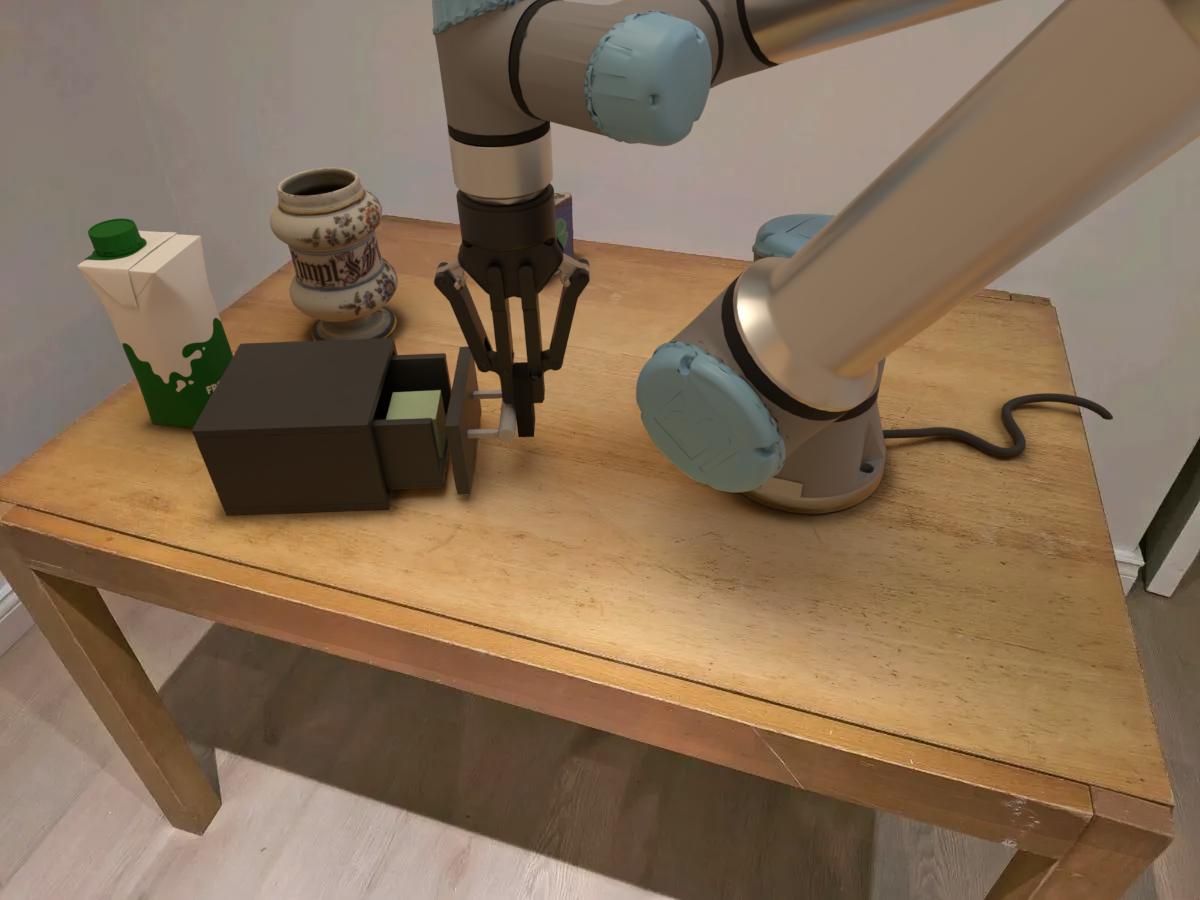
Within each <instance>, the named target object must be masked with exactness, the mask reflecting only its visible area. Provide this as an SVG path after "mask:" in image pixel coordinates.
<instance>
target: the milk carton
mask: <svg viewBox="0 0 1200 900" xmlns="http://www.w3.org/2000/svg"><path fill="white" fill-rule="evenodd" d="M87 235H88V238H89V239H90V242H91V245H92V247H93V251H92V252H91V254H90V255H88V256H86V258H84V261H82V262H80V263H79V264H77V269H78V270H79V272H80V273H81V275H82V276H83V277H84V279H85V281H86V282H87V283H88V285H89V286H90V288H91V289H92V290H93V292H94V293H95V295H96V296H97V298H98V299H99V301H101V302H100V303H101V304H102V305H103V307H104V309H105V310H106V312H107V315H108V317H109V320H110V321H111V324H112V326H113V328H114V331H115V333H116V335H117V337H118V339H119V342H120V345H121V346H122V349H123V351H124V353H125V356H126V358H127V361H128V362H129V365H130V367H131V370H132V372H133V374H134V376H135V379H136V381H137V383H138V386H139V389H140V391H141V395H142V398H143V402H144V403H145V406H146V409H147V412H148V415H149V418H150V421H151V424H153V425H162V426H171V427H179V428H187V429H193V428H194V426H195V424H196V422H197V421H198V419H199V417H200V415H201V413H202V412H203V410H204V408H205V406H206V404H207V403H208V401H209V399H210V397H211V395H212V394H213V392H214V390H215V388H216V387H217V385H218V383H219V381H220V379H221V378H222V376H223V374H224V372H225V370H226V369H227V367H228V365H229V363H230V361H231V360H232V358H233V356H234V354H233V351H232V349H231V345H230V343H229V339H228V338H227V337H228V336H227V334H226V330H225V328H224V326H223V323H222V322H223V321H222V320H221V316H220V314H219V311H218V307H217V305H216V302H215V299H214V296H213V294H212V291H211V288H210V287H211V286H210V285H209V281H208V276H207V275H208V274H207V270H206V269H207V268H206V262H205V255H204V249H203V243H202V236H201V235H196V234H195V235H194V234H181V233H180V234H178V233H177V232H174V231H151V230H150V231H149V230H139V229H138V227H137V224H136V222H135V221H134V220H133V219H130V218H111V219H108V220H104V221H100V222H98V223H95V224H93V225H92V226H91V227H89V229H88V230H87Z"/></svg>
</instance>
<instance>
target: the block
mask: <svg viewBox="0 0 1200 900" xmlns="http://www.w3.org/2000/svg"><path fill="white" fill-rule="evenodd" d="M416 418H432V422H433V427H434V432H435V438H436V443H437V448H438V454H439V458H442V457H443V454H444V448H445V441H446V430H445V423H446V416H445V410H444V405H443V399H442V393H441V390H434V391H412V392H393V394H392V398H391V402H390V405H389V409H388V413H387V417H386V420H389V419H416Z"/></svg>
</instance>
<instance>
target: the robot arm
mask: <svg viewBox="0 0 1200 900" xmlns="http://www.w3.org/2000/svg"><path fill="white" fill-rule="evenodd" d="M999 2H1003V0H620V1H616V2H614V3H611V4H595V3H594V4H593V3H585V2H576V1H568V0H431V5H432V6H431V7H432V9H431V10H432V21H433V22H432V23H433V24H432V26H433V27H432V29H431V30H432V36H434V39H435V44H436V52H437V58H438V59H437V60H438V64H439V65H438V66H439V72H440V73H439V74H440V78H441V79H440V80H441V86H442V87H441V88H442V94H443V101H444V109H445V117H446V122H447V123H446V124H447V136H448V143H449V153H450V160H451V167H452V175H453V183H454V185H455V187H456V188H457V189H458V190H457V191H456V195H455V196H456V197H455V198H456V204H457V212H458V220H459V228H460V236H461V244H460V245H459V248H458V253H457V257H456V258H454V259H453V260H451V261H449V262H446V261H442V262H440V263H439V264H438V265H437V269H436V272H435V275H434V279H433V285H434V287H435V288H436V289H437V290H438V291H439V292H440V294H442V296H443V297H445V299H446V300H447V301H448V302H449V304H450V306H451V309H452V311H453V314H454V316H455V318H456V320H457V323H458V325H459V329H460V330H461V332H462V335H463V337H464V339H465V342H466V344H467V347H469V349H470V351H471V354H472V356H473V358H474V361H475V366H476V367H477V370H478V371H479V372H481V373H489V372H493V373H495V374H497V375H498V377H499V381H500V390H501V391H502V398H501V401H502V400H503V402H504V403H505V404H515V410H516V419H517V420H516V431H517V438H535V430H536V410H535V408H536V407H535V404H543V403H544V401H545V397H546V396H545V394H546V385H545V373H546V372H548V371H550V370H551V371H559V370H561V369H562V367H563V363H564V359H565V356H566V355H565V354H566V350H567V346H568V342H569V338H570V333H571V329H572V325H573V321H574V317H575V312H576V308H577V305H578V304H577V303H578V299H579V297H580V296H581V295H582V293H583V292H584V290H585V289H586V288H587V286H588V284H589V283H590V281H591V280H590V279H591V277H590V273H591V270H590V262H589V260H587V259H586V258H579V259H575V258H574V259H573V258H571V257H570V256H568V255H566V254H564V249H563V245H562V244H561V242H560V241H559V239H558V237H557V233H556V216H555V199H554V193H555V189H554V186H553V185H552V183H551V182H552V181H553V179H554V165H553V146H552V126H551V123H553V124H557V125H561V126H564V127H568V128H573V129H576V130H580V131H583V132H588V133H592V134H595V135H599V136H604V137H607V138H608V139H611V140H614V141H616V142H619V143H622V142H623V143H625V144H630V145H635V144H636V145H637V144H641V145H650V146H655V147H656V146H657V147H669V146H673V145H675V144H678V143H679V142H681V141H683V140H685V138H687V137H688V136H689V135H690V133H691V132H692V129H693V126H694V123H695V122H697V121H699V120H700V119H701V117H702V115H703V112H704V111H705V108H706V105H707V101H708V98H709V94H710V90H711V89H713V88H715V87H717V86H720V85H722V84H724V83H726V82H729V81H732V80H734V79H738V78H742V77H745V76H748V75H752V74H755V73H759V72H762V71H766V70H770V69H772V68H775V67H778V66H779V65H780V66H781V65H782V64H784V63H785V64H786V63H789V62H792V61H796V60H798V59H799V60H800V59H803V58H807V57H809V56H810V57H811V56H813V55H817V54H820V53H824V52H827V51H832V50H835V49H838V48H841V47H845V46H849V45H852V44H855V43H858V42H862V41H866V40H869V39H873V38H876V37H880V36H884V35H887V34H891V33H895V32H897V31H901V30H904V29H908V28H911V27H915V26H919V25H921V24H925V23H929V22H932V21H935V20H939V19H942V18H946V17H949V16H954V15H957V14H960V13H964V12H967V11H971V10H975V9H977V8H981V7H985V6H988V5H992V4H996V3H999ZM1198 138H1200V0H1063V1H1062V2H1061V3H1060V4H1059V5H1058V6H1057V7H1056V8H1055V9H1054V10H1053V11H1052V12H1051V13H1050V14H1048V16H1046V18H1044V19H1043V20H1042V21H1041V22H1040V23H1039V24H1038V25H1037V26H1036V27H1034V28H1033V30H1032V31H1031V32H1030V33H1028V34H1027V35H1025V37H1024V38H1023V39H1022V40H1021V41H1020V42H1019V43H1018V44H1016V46H1014V47H1013V48H1012V49H1011V50H1010V51H1009V52H1008V53H1007V54H1006V55H1005V56H1004V57H1003V58H1002V59H1000V60H999V61H998V63H996V64H995V65H994V67H992V68H991V69H990V70H989V71H988V72H987V73H985V75H984V76H983V77H981V79H979V80H978V81H977V82H976V83H975V84H974V85H973V86H972V87H971V88H970V89H968V91H967V92H965V93H964V95H962V96H961V97H960V98H959V99H958V100H957V101H956V102H955V103H954V104H953V105H952V106H950V108H948V109H947V110H946V112H945V113H943V114H942V115H941V116H939V118H938V119H937V120H936V121H935V122H934V123H933V124H932V125H931V126H929V127H928V128H927V129H926V130H925V131H924V132H923V133H922V134H921V135H920V136H919V137H918V138H917V139H916V140H915V141H914V142H913V143H911V144H910V145H909V146H908V147H907V148H906V149H905V150H904V151H903V152H902V153H901V154H900V155H898V157H897V158H895V159H894V160H893V161H892V162H891V163H890V164H889V165H888V166H887V167H886V168H885V169H884V170H882V171H881V173H880V174H878V175H877V177H875V178H874V179H873V180H872V181H871V182H870V183H869V184H868V185H867V186H865V188H863V190H861V191H860V192H859V193H858V194H857V195H856V196H855V197H854V198H853V199H852V200H851V201H849V203H847V205H845V206H844V207H843V208H842V209H841V210H840V211H839V212H838V213H837V214H836V215H832V214H825V213H796V214H795V213H794V214H786V215H781V216H777V217H774V218H772V219H770V220H768V221H766V222H764V223H763V224H762V225H761V226H760V227H759V228H758V230H757V232H756V236H755V241H754V244H753V245H752V247H751V252H752V253H753V261H752V263H751V264H749V265H748V266H747V267H746V268H745V269H743V271H742V272H740V274H739V275H738V276H737V277H736V278H734V280H732V282H730V283H729V285H727V287H726V288H724V289H723V290H722V291H721V292H720V293H719V294H718V295H717V296H716V297H715V298H714V299H713V300H712V301H711V302H709V304H708V305H707V306H706V307H704V309H703V310H701V312H700V313H699V314H698V315H697V316H696V317H695V318H694V319H693V320H691V322H689V323H688V324H687V326H685V327H684V328H683V329H682V330H681V331H680V332H678V333H677V334H676V335H675V336H674V337H673V338H672V339H670V340H669V341H668V342H664V343H662V344H660V345H659V346H658V347H657V348H656V349H654V351H653V354H652V356H651V357H650V358H649V359H648V360H647V362H646V363H645V364H644V365H643V366H642V368H641V370H640V372H639V374H638V377H637V381H636V387H635V399H636V405H637V407H638V409H639V411H640V420H641V422H642V425H643V427H644V430H645V431H646V432H647V434H648V436H649V438H650V439H651V441H652V442H653V444H654V446H655V447H656V448H657V449H658V451H659V452H660V453H661V454H662V456H664V457H665V459H667V461H668V462H669V463H671V464H672V465H673V466H674V467H675V468H676V469H677V470H678V471H680V472H681V473H682V474H684V475H686V476H687V477H689V478H690V479H692V480H693V481H695V482H697V483H699V484H703V485H707V486H708V487H710V488H712V489H714V490H717V491H720V492H725V493H741V494H742V495H743V496H745V497H747V498H748V499H749V500H751V501H754V502H756V503H758V504H761V505H763V506H765V507H769V508H772V509H775V510H779V511H783V512H788V513H794V514H795V513H796V514H806V515H807V514H809V515H810V514H815V515H816V514H828V513H833V512H834V513H835V512H838V511H842V510H846V509H849V508H852V507H854V506H856V505H858V504H860V503H862V502H863V501H865V500H866V499H867V498H869V497H870V496H871V495H872V494H873V493H874V492H875V491H876V490H877V488H878V487H879V486H880V484H881V481H882V478H883V475H884V470H885V466H886V461H887V456H888V455H887V448H886V443H885V440H887V439H889V440H891V439H917V438H919V439H921V438H929V437H948V438H954V439H959V440H961V441H964V442H967V443H968V444H971V445H973V446H975V447H977V448H978V449H981V450H982V451H984V452H986V453H989V454H991V455H994V456H997V457H1002V458H1011V457H1015V456H1018V455H1020V454H1022V453H1023V452H1024V451H1025V449H1026V446H1027V440H1026V438H1025V437H1026V436H1025V435H1024V434H1023V432H1022V429H1021V428H1020V426H1019V425H1018V424H1017V422H1016V421H1015V419H1014V417H1013V414H1012V409H1014V408H1016V407H1019V406H1023V405H1027V404H1035V403H1061V404H1068V405H1073V406H1077V407H1081V408H1084V409H1087V410H1089V411H1090V412H1093V413H1095V414H1096V415H1098V416H1099V417H1101V418H1102V419H1103V420H1106V421H1112V420H1113V419H1114V416H1113V415H1112V413H1111V412H1110V411H1109V410H1108V409H1107V408H1105V407H1104V406H1103V405H1101V404H1099V403H1097V402H1095V401H1092V400H1090V399H1087V398H1084V397H1080V396H1076V395H1071V394H1067V393H1051V392H1046V393H1044V392H1043V393H1042V392H1041V393H1033V394H1026V395H1025V394H1024V395H1022V396H1021V395H1020V396H1017V397H1015V398H1011V399H1009V400H1008V401H1007V402H1005V403H1004V404H1003V405H1002V407H1001V411H1000V413H1001V418H1002V420H1003V423H1004V424H1005V425H1006V427H1007V429H1008V430H1009V431H1010V433H1011V435H1012V436H1013V439H1014V441H1015V445H1014V446H1011V447H1002V446H998V445H995V444H993V443H991V442H989V441H987V440H985V439H983V438H982V437H979V436H977V435H975V434H973V433H970V432H968V431H965V430H963V429H959V428H954V427H947V426H946V427H945V426H935V427H923V428H897V429H896V428H894V429H893V428H892V429H883V427H882V421H881V417H880V416H881V415H880V409H879V403H878V397H879V391H880V386H881V381H882V378H883V373H884V369H885V364H886V360H887V357H889V356H890V355H891V354H893V353H894V352H895V351H898V349H900V348H901V347H902V346H904V345H905V344H907V343H908V342H910V341H911V340H912V339H914V338H915V337H917V336H918V335H920V334H922V333H923V332H924V331H925V330H927V329H928V328H930V327H931V326H933V325H934V324H935V323H937V322H938V321H939V320H941V319H942V318H944V317H945V316H947V315H948V314H949V313H951V312H952V311H954V310H955V309H957V308H958V307H959V306H961V305H962V304H964V303H965V302H966V301H968V300H969V299H970V298H972V297H973V296H975V295H976V294H978V293H979V292H981V291H982V290H984V289H985V288H986V287H988V286H989V285H991V284H993V282H995V281H997V280H998V279H999V278H1001V277H1003V276H1004V275H1005V274H1006V273H1008V272H1009V271H1011V270H1012V269H1014V268H1015V267H1016V266H1018V265H1019V264H1021V263H1022V262H1024V261H1025V260H1026V259H1028V258H1029V257H1030V256H1032V255H1033V254H1035V253H1036V252H1038V251H1039V250H1040V249H1043V247H1045V246H1046V245H1048V244H1049V243H1051V242H1052V241H1053V240H1055V239H1057V237H1059V236H1060V235H1062V234H1063V233H1065V232H1066V231H1068V230H1069V229H1071V228H1072V227H1074V226H1075V225H1076V224H1077V223H1079V222H1080V221H1082V220H1083V219H1085V218H1086V217H1088V216H1089V215H1091V214H1092V213H1093V212H1095V211H1096V210H1097V209H1099V208H1100V207H1102V206H1103V205H1105V204H1106V203H1108V201H1110V200H1112V199H1113V198H1115V197H1116V196H1118V195H1119V194H1120V193H1122V192H1123V191H1124V190H1126V189H1127V188H1129V187H1130V186H1132V185H1133V184H1135V183H1136V182H1138V181H1139V180H1140V179H1141V178H1143V177H1144V176H1146V175H1147V174H1149V173H1150V172H1151V171H1153V170H1154V169H1156V168H1157V167H1158V166H1160V165H1161V164H1163V163H1164V162H1166V161H1167V160H1169V159H1170V158H1171V157H1173V156H1174V155H1175V154H1177V153H1179V152H1180V151H1181V150H1182V149H1184V148H1186V147H1187V146H1188V145H1190V144H1192V142H1194V141H1195V140H1197V139H1198ZM558 268H559V269H560V277H559V278H560V280H559V281H560V283H561V285H562V288H561V294H560V298H559V302H558V306H557V311H556V316H555V321H554V325H553V329H552V334H551V338H550V343H549V348H548V349H545V350H543V337H542V326H541V312H540V297H539V294H540V293H541V292H542V291H543V290H544V289H545V287H546V286H547V284H548V283H549V282H550V281H551V279H552V278H553V277H554V276H553V275H554V273H555V272H556V271H557V269H558ZM466 274H467V275H468V276H469V277H470V278H471V279H472V280H473V281H474V282H475V283H476V284H477V285H478V287H480V288H481V290H482V291H483V292H485V293H486V294H487V295H488V296H489V306H490V311H491V314H492V315H491V316H492V325H493V326H492V327H493V334H494V335H493V336H494V343H495V350H494V349H493V347H492V344H491V342H490V339H489V337H488V334H487V331H486V330H485V329H486V328H485V327H484V325H483V321H482V320H481V319H482V318H481V316H480V314H479V312H478V310H477V306H476V305H475V302H474V300H473V297H472V294H471V292H470V290H469V287H468V285H467V283H466V282H467V277H468V276H467V275H466ZM552 276H553V277H552ZM509 298H519V299H520V301H521V310H522V318H523V327H524V339H525V352H526V361H518V362H517V361H516V362H515V352H514V341H513V331H512V321H511V320H512V319H511V312H510V311H511V309H510V299H509Z"/></svg>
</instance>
